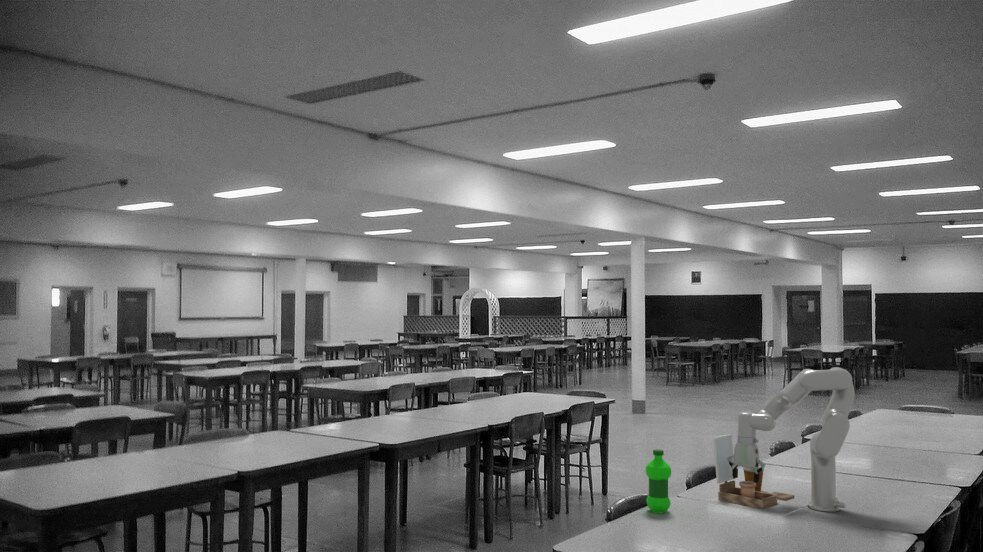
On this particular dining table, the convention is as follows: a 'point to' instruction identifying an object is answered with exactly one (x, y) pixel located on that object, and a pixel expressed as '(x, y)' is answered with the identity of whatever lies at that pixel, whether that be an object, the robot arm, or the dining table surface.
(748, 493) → the pot
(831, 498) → the robot arm
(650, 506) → the plastic bottle
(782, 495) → the board
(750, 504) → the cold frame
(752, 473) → the disposable coffee cup
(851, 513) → the dining table surface
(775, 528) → the dining table surface
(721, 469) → the lid
